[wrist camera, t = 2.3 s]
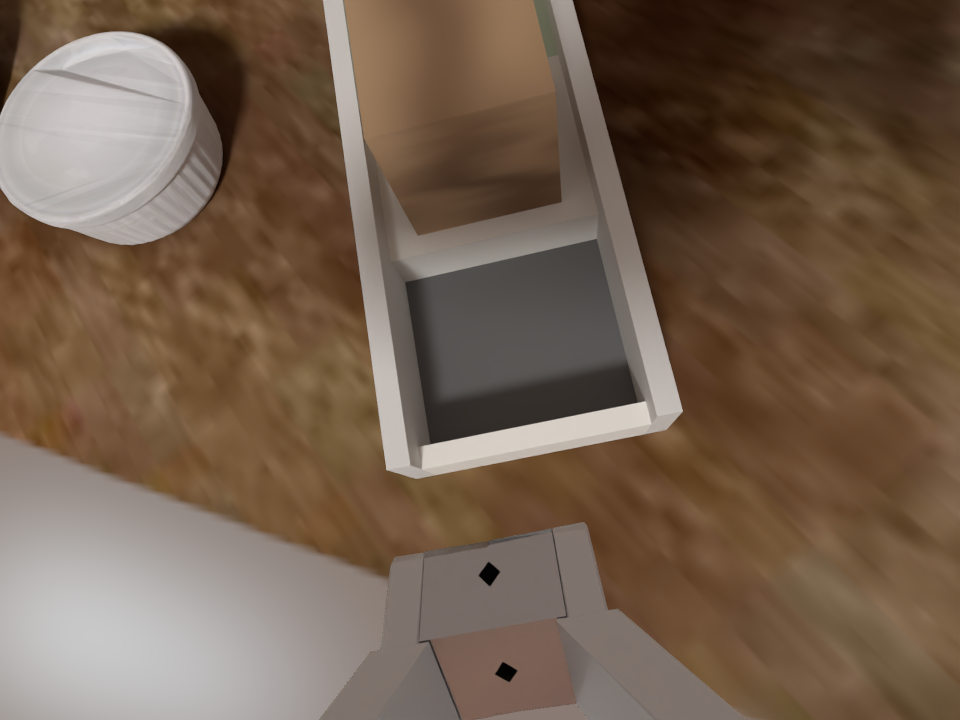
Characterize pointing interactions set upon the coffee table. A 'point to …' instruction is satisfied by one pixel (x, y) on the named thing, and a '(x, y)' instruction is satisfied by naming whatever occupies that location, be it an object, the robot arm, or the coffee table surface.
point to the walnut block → (457, 106)
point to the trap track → (508, 296)
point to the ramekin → (110, 140)
